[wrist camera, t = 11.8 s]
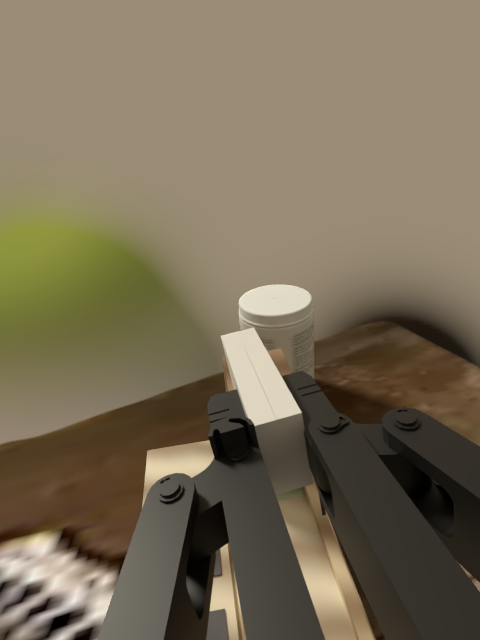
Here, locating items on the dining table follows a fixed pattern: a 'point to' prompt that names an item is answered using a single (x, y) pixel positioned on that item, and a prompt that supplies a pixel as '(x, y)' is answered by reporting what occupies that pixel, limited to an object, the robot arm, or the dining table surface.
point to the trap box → (309, 544)
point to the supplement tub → (282, 322)
